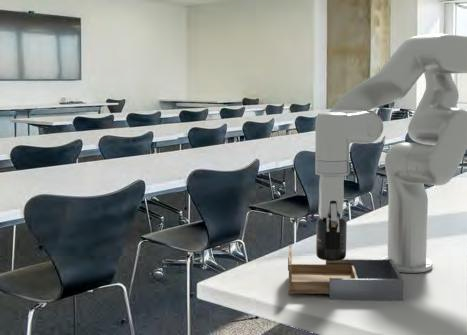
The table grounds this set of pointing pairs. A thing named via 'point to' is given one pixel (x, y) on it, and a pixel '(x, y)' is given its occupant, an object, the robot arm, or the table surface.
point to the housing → (368, 281)
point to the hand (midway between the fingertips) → (331, 243)
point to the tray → (315, 276)
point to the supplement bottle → (320, 241)
